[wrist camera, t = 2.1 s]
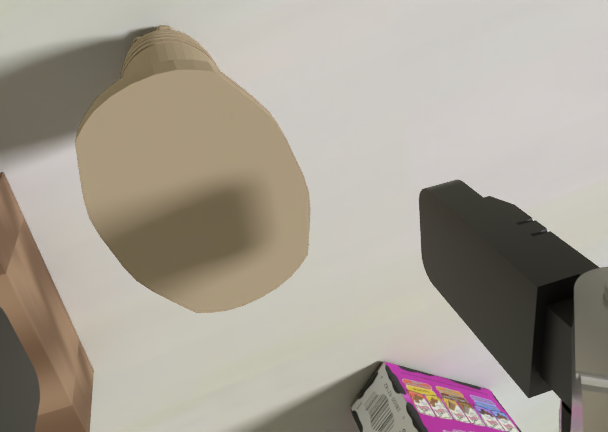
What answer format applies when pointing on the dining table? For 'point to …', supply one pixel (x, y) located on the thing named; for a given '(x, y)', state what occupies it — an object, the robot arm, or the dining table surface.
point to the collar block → (42, 325)
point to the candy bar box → (426, 404)
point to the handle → (191, 179)
